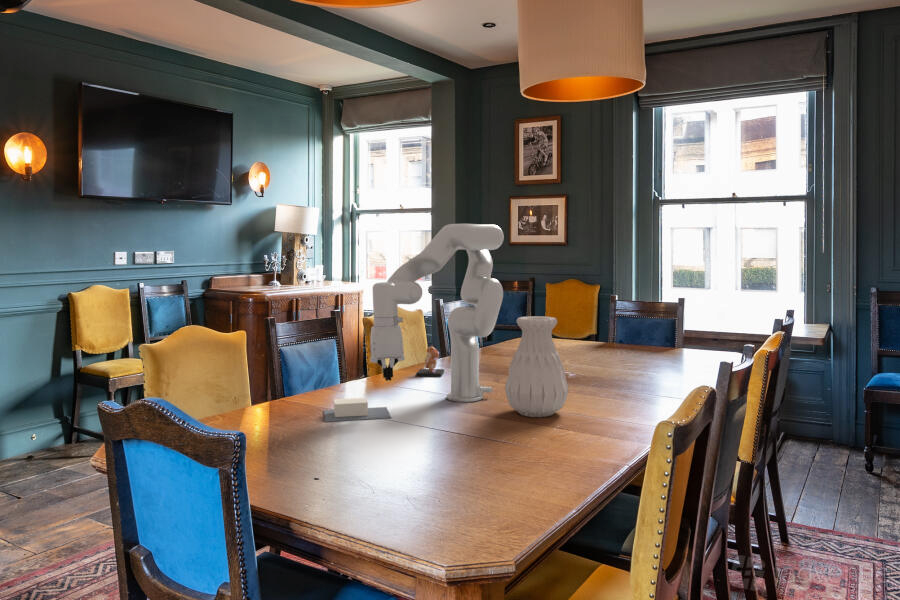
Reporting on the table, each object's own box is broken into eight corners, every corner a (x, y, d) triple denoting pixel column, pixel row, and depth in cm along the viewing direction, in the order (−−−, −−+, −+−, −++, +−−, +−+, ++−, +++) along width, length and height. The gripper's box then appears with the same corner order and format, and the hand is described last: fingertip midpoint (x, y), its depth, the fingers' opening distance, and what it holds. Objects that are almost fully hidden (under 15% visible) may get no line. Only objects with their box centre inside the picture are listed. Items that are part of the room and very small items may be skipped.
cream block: (365, 397, 220) (333, 399, 218) (367, 402, 213) (334, 404, 211) (365, 410, 220) (334, 412, 218) (367, 415, 214) (335, 417, 212)
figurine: (440, 377, 277) (440, 347, 276) (416, 376, 278) (415, 347, 277) (444, 372, 287) (444, 344, 286) (420, 372, 288) (420, 343, 287)
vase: (527, 424, 204) (528, 323, 202) (492, 410, 222) (492, 316, 219) (581, 416, 213) (583, 319, 211) (544, 403, 231) (544, 313, 229)
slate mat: (386, 407, 225) (386, 406, 225) (391, 418, 212) (391, 417, 211) (323, 411, 221) (323, 410, 221) (325, 422, 208) (325, 421, 207)
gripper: (408, 319, 221) (410, 375, 223) (361, 321, 218) (363, 379, 220) (411, 322, 214) (413, 380, 216) (362, 324, 211) (365, 384, 213)
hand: (388, 379), depth 218 cm, fingers closed
